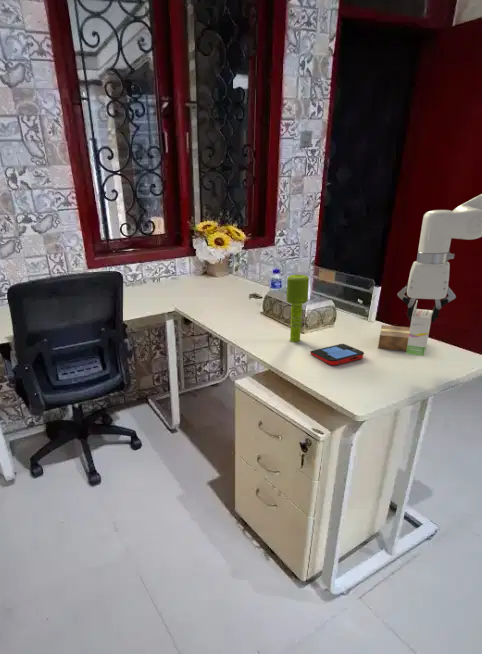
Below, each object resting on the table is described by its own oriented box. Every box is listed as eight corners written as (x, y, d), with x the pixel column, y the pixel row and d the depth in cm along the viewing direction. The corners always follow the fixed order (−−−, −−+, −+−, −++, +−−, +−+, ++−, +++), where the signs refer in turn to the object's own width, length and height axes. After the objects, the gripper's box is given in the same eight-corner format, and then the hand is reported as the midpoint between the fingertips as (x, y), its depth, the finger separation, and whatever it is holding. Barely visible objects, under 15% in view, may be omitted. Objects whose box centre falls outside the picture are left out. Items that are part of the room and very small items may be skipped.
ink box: (424, 356, 123) (432, 308, 116) (405, 354, 125) (412, 306, 119) (427, 346, 129) (435, 300, 123) (409, 343, 132) (416, 298, 125)
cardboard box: (412, 340, 153) (414, 327, 151) (411, 351, 145) (414, 338, 142) (379, 337, 158) (381, 324, 156) (377, 348, 149) (379, 334, 147)
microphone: (282, 337, 163) (284, 274, 152) (301, 335, 163) (304, 272, 152) (288, 345, 155) (291, 279, 144) (308, 343, 156) (312, 277, 145)
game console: (342, 346, 152) (343, 340, 151) (366, 359, 141) (367, 353, 140) (308, 353, 148) (309, 347, 147) (331, 367, 137) (331, 361, 136)
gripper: (466, 255, 114) (453, 318, 122) (398, 255, 121) (390, 314, 129) (469, 261, 108) (455, 326, 116) (397, 260, 115) (389, 322, 123)
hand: (421, 319), depth 123 cm, fingers closed on ink box, 5 cm apart
